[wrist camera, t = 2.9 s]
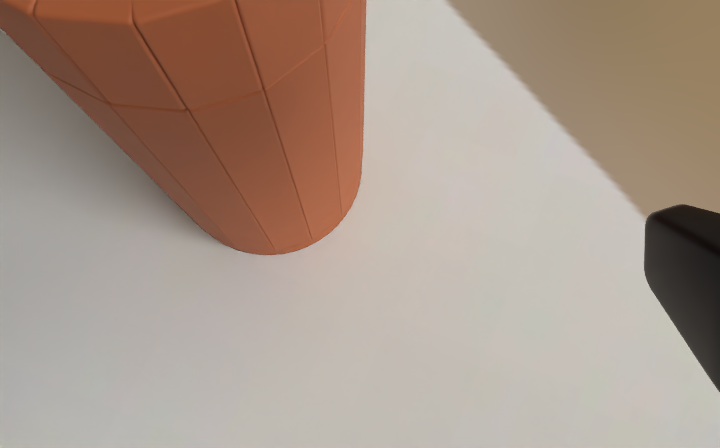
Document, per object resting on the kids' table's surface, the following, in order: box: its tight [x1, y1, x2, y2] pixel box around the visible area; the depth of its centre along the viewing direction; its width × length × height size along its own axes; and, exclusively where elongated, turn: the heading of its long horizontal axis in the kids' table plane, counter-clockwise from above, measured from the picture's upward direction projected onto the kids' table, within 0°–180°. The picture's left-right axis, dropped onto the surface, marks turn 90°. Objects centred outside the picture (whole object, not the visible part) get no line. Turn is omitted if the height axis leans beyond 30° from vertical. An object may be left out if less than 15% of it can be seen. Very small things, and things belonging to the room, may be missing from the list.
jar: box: [0, 0, 366, 255], centre depth 15 cm, size 6×6×14 cm
